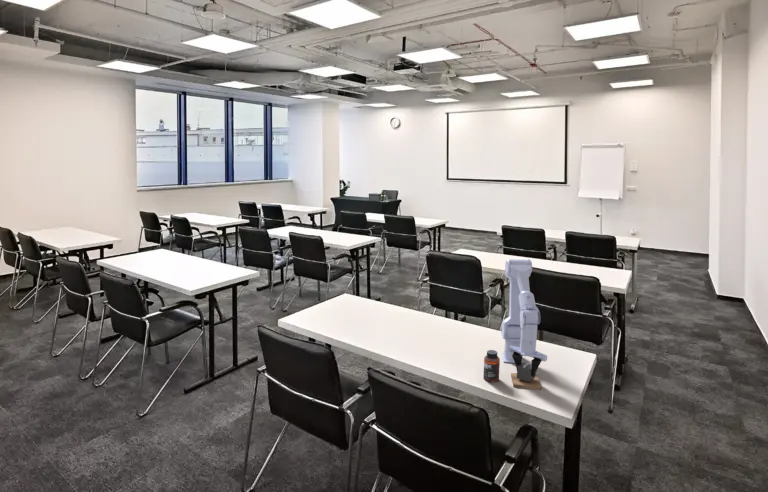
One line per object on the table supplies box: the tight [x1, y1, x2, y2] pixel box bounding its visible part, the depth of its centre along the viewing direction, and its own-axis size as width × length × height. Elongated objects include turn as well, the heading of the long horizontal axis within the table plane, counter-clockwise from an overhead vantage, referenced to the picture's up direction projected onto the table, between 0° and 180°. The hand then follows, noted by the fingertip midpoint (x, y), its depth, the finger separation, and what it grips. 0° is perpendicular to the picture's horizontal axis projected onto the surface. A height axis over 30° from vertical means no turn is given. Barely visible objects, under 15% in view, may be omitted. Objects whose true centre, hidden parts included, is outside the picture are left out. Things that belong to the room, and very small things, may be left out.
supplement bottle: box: [483, 349, 501, 383], centre depth 181 cm, size 6×6×11 cm
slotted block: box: [516, 361, 535, 382], centre depth 179 cm, size 5×5×6 cm
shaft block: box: [510, 372, 542, 390], centre depth 180 cm, size 10×10×4 cm
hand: (526, 373), depth 179 cm, fingers closed on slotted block, 5 cm apart
